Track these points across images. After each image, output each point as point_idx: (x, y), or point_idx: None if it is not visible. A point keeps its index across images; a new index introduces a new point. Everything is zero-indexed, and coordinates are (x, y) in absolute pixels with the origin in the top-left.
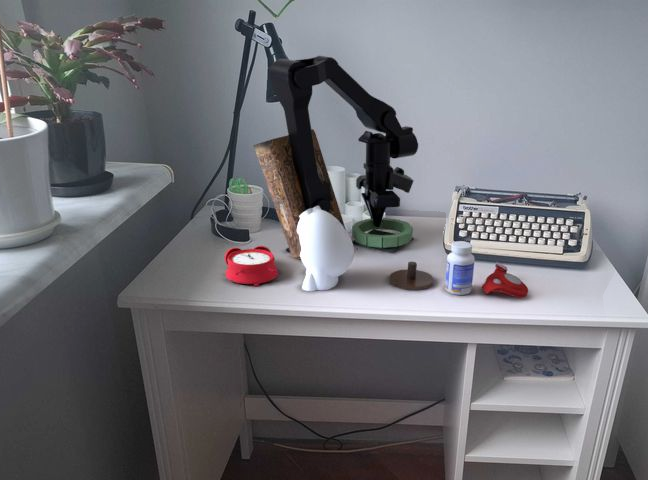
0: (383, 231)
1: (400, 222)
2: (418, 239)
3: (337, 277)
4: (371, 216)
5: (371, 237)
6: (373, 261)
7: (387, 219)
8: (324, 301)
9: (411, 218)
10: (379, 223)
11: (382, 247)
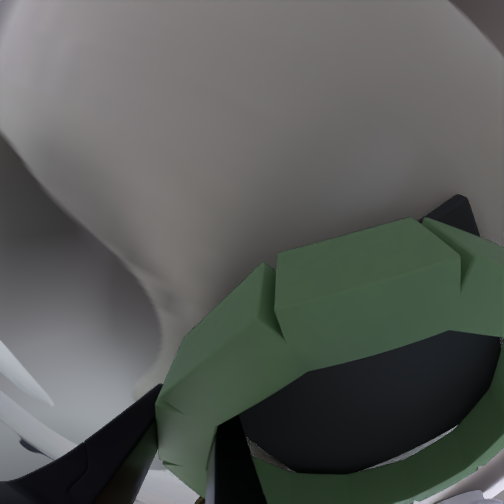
0: None
1: (405, 335)
2: (462, 149)
3: (479, 497)
4: (152, 460)
5: (435, 491)
6: None
7: (230, 399)
8: (494, 492)
9: (25, 8)
10: (239, 428)
11: (452, 424)
